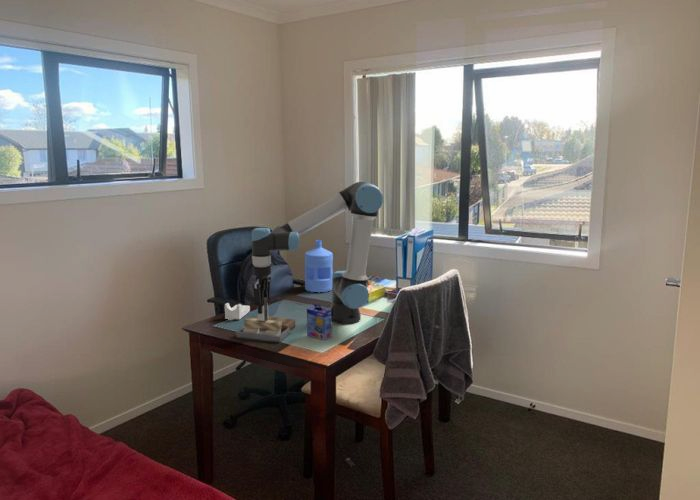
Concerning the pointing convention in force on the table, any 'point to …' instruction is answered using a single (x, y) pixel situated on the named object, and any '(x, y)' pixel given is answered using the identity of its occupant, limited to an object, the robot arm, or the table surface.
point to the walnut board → (283, 323)
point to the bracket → (236, 311)
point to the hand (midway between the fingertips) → (263, 318)
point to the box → (262, 335)
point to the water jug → (318, 269)
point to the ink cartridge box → (319, 322)
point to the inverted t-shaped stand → (263, 324)
